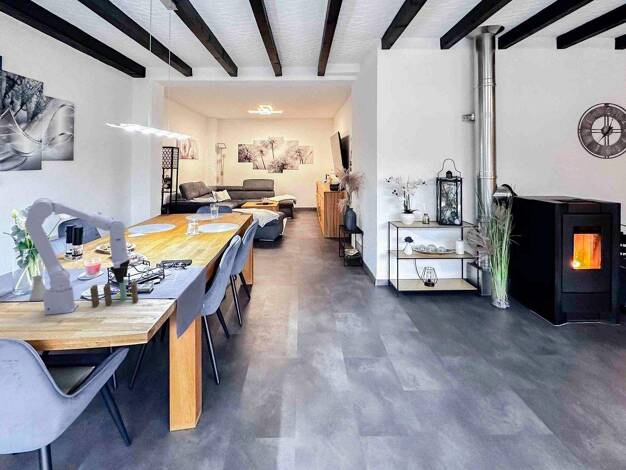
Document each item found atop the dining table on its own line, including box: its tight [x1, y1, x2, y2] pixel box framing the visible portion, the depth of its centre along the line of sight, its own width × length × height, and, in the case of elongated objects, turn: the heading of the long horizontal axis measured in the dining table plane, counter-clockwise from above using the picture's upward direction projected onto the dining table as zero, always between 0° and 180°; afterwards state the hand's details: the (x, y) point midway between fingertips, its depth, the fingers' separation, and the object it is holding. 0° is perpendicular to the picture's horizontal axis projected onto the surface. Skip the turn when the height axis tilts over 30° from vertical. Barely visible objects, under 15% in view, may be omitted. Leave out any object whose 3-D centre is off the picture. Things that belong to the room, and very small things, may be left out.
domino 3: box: [118, 279, 128, 302], centre depth 157 cm, size 2×4×8 cm, turn 16°
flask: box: [29, 274, 48, 302], centre depth 157 cm, size 7×7×10 cm
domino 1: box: [90, 284, 100, 308], centre depth 150 cm, size 2×4×8 cm, turn 16°
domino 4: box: [130, 281, 139, 304], centre depth 154 cm, size 2×4×8 cm, turn 16°
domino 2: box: [103, 283, 113, 307], centre depth 151 cm, size 2×4×8 cm, turn 17°
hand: (122, 279), depth 156 cm, fingers open, 7 cm apart
